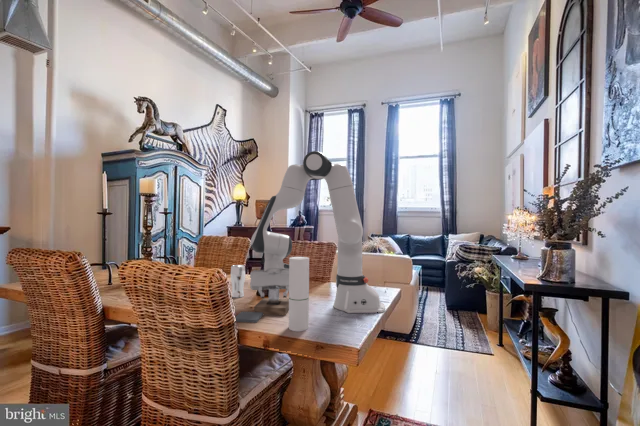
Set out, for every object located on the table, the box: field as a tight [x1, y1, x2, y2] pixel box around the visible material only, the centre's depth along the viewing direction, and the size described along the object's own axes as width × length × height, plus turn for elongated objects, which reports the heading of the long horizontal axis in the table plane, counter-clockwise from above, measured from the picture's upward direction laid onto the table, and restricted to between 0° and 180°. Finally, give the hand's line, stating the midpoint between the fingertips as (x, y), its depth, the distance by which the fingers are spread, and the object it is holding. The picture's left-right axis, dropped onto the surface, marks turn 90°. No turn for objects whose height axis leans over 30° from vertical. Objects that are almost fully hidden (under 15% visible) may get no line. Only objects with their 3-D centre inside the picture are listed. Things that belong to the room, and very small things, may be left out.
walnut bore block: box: [253, 297, 289, 316], centre depth 132 cm, size 13×13×3 cm
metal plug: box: [268, 285, 280, 305], centre depth 132 cm, size 4×4×10 cm
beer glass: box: [230, 264, 246, 299], centre depth 153 cm, size 7×7×15 cm
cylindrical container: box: [288, 256, 310, 332], centre depth 112 cm, size 7×7×25 cm
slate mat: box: [235, 311, 264, 324], centre depth 121 cm, size 9×9×1 cm
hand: (273, 297), depth 132 cm, fingers open, 8 cm apart
